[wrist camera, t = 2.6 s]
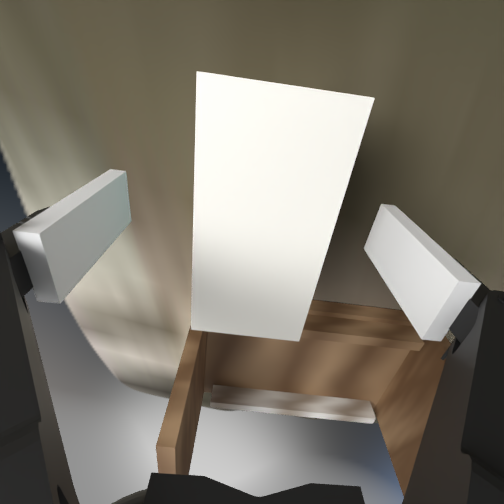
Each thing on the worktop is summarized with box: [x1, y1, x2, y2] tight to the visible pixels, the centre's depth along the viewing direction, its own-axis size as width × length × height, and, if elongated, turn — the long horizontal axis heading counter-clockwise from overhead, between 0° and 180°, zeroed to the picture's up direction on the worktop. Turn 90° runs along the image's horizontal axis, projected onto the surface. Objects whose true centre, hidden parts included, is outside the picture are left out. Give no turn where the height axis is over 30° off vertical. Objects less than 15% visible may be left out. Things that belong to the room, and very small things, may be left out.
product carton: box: [191, 71, 374, 342], centre depth 17 cm, size 12×6×10 cm, turn 173°
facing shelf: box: [156, 300, 451, 496], centre depth 25 cm, size 22×14×14 cm, turn 83°
